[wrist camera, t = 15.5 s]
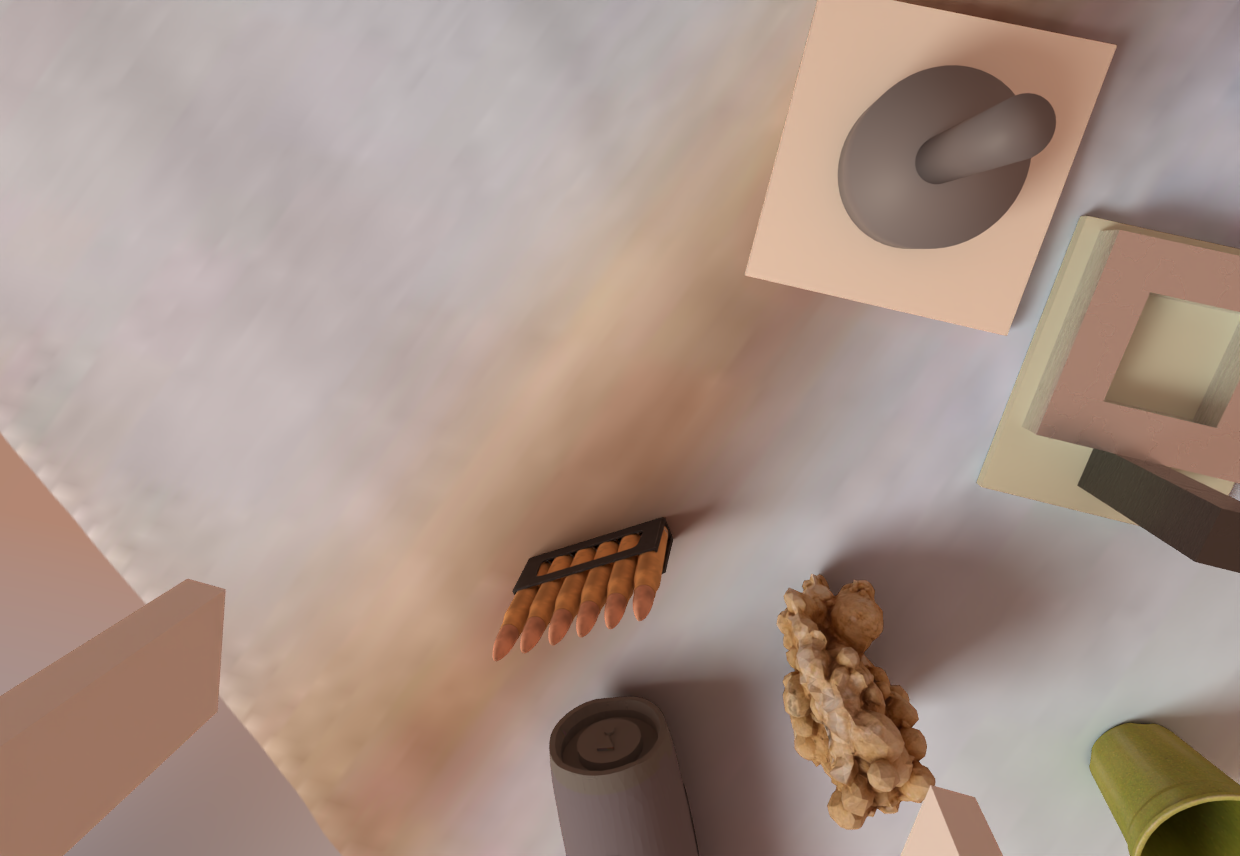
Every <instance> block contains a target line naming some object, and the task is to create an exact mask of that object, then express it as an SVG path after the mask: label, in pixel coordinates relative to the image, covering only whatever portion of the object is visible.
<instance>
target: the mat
mask: <svg viewBox="0 0 1240 856" xmlns="http://www.w3.org/2000/svg"><path fill="white" fill-rule="evenodd" d="M1104 230H1123V231H1128V232H1132V233H1137V234H1142V235H1146V236H1151V237H1155V238H1160V239H1165V240H1169V241H1174V242H1178V243H1183V244H1188V245H1192V246H1197V247H1201V248H1206V249H1210V250H1215V251H1220V252H1224V253H1229V254H1233V255H1238V256H1240V249H1237V248H1233V247H1228V246H1223V245H1219V244H1214V243H1210V242H1205V241H1200V240H1196V239H1191V238H1187V237H1182V236H1178V235H1173V234H1168V233H1164V232H1159V231H1155V230H1150V229H1145V228H1141V227H1136V226H1132V225H1127V224H1123V223H1118V222H1113V221H1109V220H1104V219H1100V218H1095V217H1090V216H1080V218H1079V221H1078V223H1077V226H1076V229H1075V231H1074V234H1073V236H1072V239H1071V241H1070V244H1069V246H1068V249H1067V252H1066V254H1065V257H1064V259H1063V262H1062V264H1061V267H1060V270H1059V272H1058V275H1057V277H1056V280H1055V282H1054V285H1053V287H1052V290H1051V293H1050V295H1049V298H1048V300H1047V303H1046V305H1045V308H1044V311H1043V313H1042V316H1041V318H1040V321H1039V323H1038V326H1037V329H1036V331H1035V334H1034V336H1033V339H1032V341H1031V344H1030V346H1029V349H1028V352H1027V354H1026V357H1025V359H1024V362H1023V364H1022V367H1021V370H1020V372H1019V375H1018V377H1017V380H1016V382H1015V385H1014V387H1013V390H1012V393H1011V395H1010V398H1009V400H1008V403H1007V405H1006V408H1005V411H1004V413H1003V416H1002V418H1001V421H1000V423H999V426H998V428H997V431H996V434H995V436H994V439H993V441H992V444H991V446H990V449H989V452H988V454H987V457H986V459H985V462H984V464H983V467H982V469H981V472H980V475H979V477H978V480H977V482H976V483H977V484H978V485H980V486H981V487H984V488H988V489H992V490H996V491H1000V492H1004V493H1008V494H1012V495H1016V496H1020V497H1024V498H1029V499H1033V500H1037V501H1041V502H1045V503H1049V504H1053V505H1057V506H1061V507H1065V508H1069V509H1073V510H1077V511H1081V512H1085V513H1089V514H1093V515H1097V516H1101V517H1105V518H1110V519H1114V520H1118V521H1122V522H1126V523H1130V524H1134V525H1138V524H1136V523H1134V522H1133V521H1131V520H1130V519H1128V518H1127V517H1125V516H1124V515H1122V514H1121V513H1119V512H1117V511H1116V510H1114V509H1113V508H1111V507H1110V506H1108V505H1107V504H1105V503H1104V502H1102V501H1100V500H1099V499H1097V498H1096V497H1094V496H1093V495H1091V494H1090V493H1088V492H1087V491H1085V490H1083V489H1082V488H1080V487H1079V486H1077V485H1078V482H1079V480H1080V478H1081V476H1082V473H1083V471H1084V469H1085V466H1086V464H1087V462H1088V459H1089V457H1090V455H1091V452H1092V450H1093V448H1089V447H1085V446H1081V445H1077V444H1073V443H1069V442H1064V441H1060V440H1056V439H1052V438H1048V437H1044V436H1039V435H1036V434H1034V433H1032V432H1031V431H1029V430H1027V429H1025V428H1024V427H1022V425H1023V422H1024V420H1025V417H1026V415H1027V412H1028V410H1029V407H1030V405H1031V402H1032V400H1033V397H1034V395H1035V392H1036V390H1037V387H1038V385H1039V382H1040V380H1041V377H1042V375H1043V372H1044V370H1045V367H1046V365H1047V362H1048V360H1049V357H1050V355H1051V352H1052V350H1053V347H1054V345H1055V342H1056V340H1057V337H1058V335H1059V332H1060V330H1061V327H1062V325H1063V322H1064V320H1065V317H1066V315H1067V312H1068V310H1069V307H1070V305H1071V302H1072V300H1073V297H1074V295H1075V292H1076V290H1077V287H1078V285H1079V282H1080V280H1081V277H1082V275H1083V272H1084V270H1085V267H1086V265H1087V262H1088V260H1089V257H1090V255H1091V252H1092V250H1093V247H1094V245H1095V242H1096V240H1097V237H1098V235H1099V232H1100V231H1104ZM1239 321H1240V315H1238V314H1234V313H1229V312H1225V311H1220V310H1216V309H1211V308H1207V307H1203V306H1198V305H1194V304H1189V303H1185V302H1180V301H1176V300H1171V299H1167V298H1162V297H1158V296H1153V295H1149V296H1148V299H1147V301H1146V303H1145V306H1144V308H1143V310H1142V313H1141V315H1140V317H1139V320H1138V322H1137V324H1136V327H1135V329H1134V331H1133V334H1132V336H1131V338H1130V340H1129V343H1128V345H1127V347H1126V350H1125V352H1124V354H1123V357H1122V359H1121V361H1120V364H1119V366H1118V368H1117V371H1116V373H1115V375H1114V378H1113V380H1112V382H1111V385H1110V387H1109V389H1108V392H1107V394H1106V396H1105V399H1107V400H1111V401H1116V402H1120V403H1124V404H1128V405H1133V406H1137V407H1141V408H1145V409H1150V410H1154V411H1158V412H1162V413H1167V414H1171V415H1175V416H1179V417H1184V418H1188V419H1192V420H1193V419H1194V417H1195V415H1196V412H1197V410H1198V408H1199V406H1200V404H1201V402H1202V400H1203V398H1204V395H1205V393H1206V391H1207V389H1208V387H1209V385H1210V383H1211V381H1212V378H1213V376H1214V374H1215V372H1216V370H1217V368H1218V366H1219V364H1220V361H1221V359H1222V357H1223V355H1224V353H1225V351H1226V349H1227V347H1228V344H1229V342H1230V340H1231V338H1232V336H1233V334H1234V332H1235V330H1236V327H1237V325H1238V323H1239ZM1167 467H1169V466H1167ZM1169 468H1171V469H1173V470H1175V471H1177V472H1179V473H1182V474H1184V475H1186V476H1188V477H1190V478H1192V479H1194V480H1196V481H1198V482H1200V483H1202V484H1205V485H1207V486H1209V487H1211V488H1213V489H1215V490H1217V491H1219V492H1221V493H1223V494H1226V495H1229V493H1230V491H1231V489H1232V487H1233V485H1234V483H1235V482H1231V481H1227V480H1223V479H1219V478H1214V477H1210V476H1206V475H1202V474H1198V473H1194V472H1189V471H1185V470H1181V469H1177V468H1173V467H1169ZM1138 526H1139V525H1138Z"/></svg>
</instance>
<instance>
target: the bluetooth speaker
mask: <svg viewBox="0 0 1240 856" xmlns="http://www.w3.org/2000/svg"><path fill="white" fill-rule="evenodd" d="M549 749H550V765H551V774H552V782H553V788H554V794H555V799H556V804H557V810H558V815H559V821H560V826H561V831H562V836H563V841H564V846H565V851H566V856H699V852H698V846H697V841H696V836H695V831H694V825H693V821H692V816H691V811H690V807H689V802H688V797H687V794H686V790H685V787H684V784H683V781H682V778H681V773H680V769H679V765H678V760H677V756H676V752H675V748H674V745H673V742H672V738H671V735H670V732H669V729H668V726H667V723H666V720H665V718H664V715H663V713H662V712H661V710H660V709H659V708H658V707H657V706H656V705H655V704H653V703H652V702H650V701H648V700H646V699H644V698H640V697H614V698H603V699H595V700H592V701H589V702H586V703H584V704H582V705H580V706H578V707H576V708H574V709H573V710H571V711H570V712H569V713H567V714H566V715H565V716H564V717H563V718H562V719H561V720H560V721H559V722H558V723H557V725H556V726H555V728H554V729H553V731H552V734H551V737H550V746H549Z"/></svg>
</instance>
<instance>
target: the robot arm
mask: <svg viewBox="0 0 1240 856" xmlns="http://www.w3.org/2000/svg"><path fill="white" fill-rule="evenodd" d="M225 590H226V589H223V588H219V587H215V586H212V585H208V584H205V583H201V582H197V581H194V580H190V579H186V580H185V581H183V582H181V583H180V584H178V585H177V586H175V587H174V588H172V589H170V590H169V591H167V592H166V593H164V594H162V595H161V596H159V597H158V598H156V599H154V600H153V601H151V602H150V603H148V604H146V605H145V606H143V607H142V608H140V609H138V610H137V611H135V612H134V613H132V614H131V615H129V616H127V617H126V618H124V619H122V620H121V621H119V622H118V623H116V624H114V625H113V626H111V627H110V628H108V629H107V630H105V631H103V632H102V633H100V634H99V635H97V636H95V637H94V638H92V639H91V640H89V641H87V642H86V643H84V644H83V645H81V646H79V647H78V648H76V649H75V650H73V651H71V652H70V653H68V654H67V655H65V656H63V657H62V658H60V659H59V660H57V661H56V662H54V663H52V664H51V665H49V666H47V667H46V668H44V669H43V670H41V671H40V672H38V673H36V674H35V675H33V676H32V677H30V678H28V679H27V680H25V681H24V682H22V683H20V684H19V685H17V686H16V687H14V688H13V689H11V690H9V691H8V692H6V693H5V694H3V695H1V696H0V856H63V855H64V854H65V853H66V852H68V850H70V849H71V848H72V847H73V846H74V845H75V844H76V843H77V842H78V841H79V840H80V839H81V838H82V837H84V836H85V835H86V834H87V833H88V832H89V831H90V830H91V829H92V828H93V827H94V826H95V825H96V824H98V823H99V822H100V821H101V820H102V819H103V818H104V817H105V816H106V815H107V814H108V813H109V812H110V811H111V810H112V809H114V808H115V807H116V806H117V805H118V804H119V803H120V802H121V801H122V800H123V799H124V798H125V797H126V796H127V795H129V794H130V793H131V792H132V791H133V790H134V789H135V788H136V787H137V786H138V785H139V784H140V783H141V782H143V781H144V780H145V779H146V777H148V776H149V775H150V774H151V773H152V772H153V771H154V770H155V769H156V768H157V767H158V766H160V765H161V764H162V763H163V762H164V761H165V760H166V759H167V758H168V757H169V756H170V755H171V754H173V753H174V752H175V751H176V750H177V749H178V748H179V747H180V746H181V745H182V744H183V743H184V742H185V741H186V740H188V739H189V738H190V737H191V736H192V735H193V734H194V733H195V732H196V731H197V730H198V729H199V728H200V727H201V726H202V725H204V724H205V723H206V722H207V721H208V720H209V719H210V718H211V717H212V716H213V715H214V714H215V713H216V712H217V710H218V696H219V681H220V666H221V650H222V635H223V620H224V605H225ZM901 856H1003V855H1002V853H1001V851H1000V849H999V846H998V844H997V842H996V840H995V838H994V836H993V834H992V832H991V830H990V828H989V826H988V824H987V821H986V819H985V817H984V815H983V813H982V811H981V809H980V807H979V805H978V803H977V801H976V798H975V797H972V796H968V795H964V794H961V793H957V792H954V791H950V790H946V789H943V788H939V787H936V786H932V785H930V788H929V790H928V792H927V795H926V797H925V799H924V802H923V804H922V806H921V809H920V811H919V813H918V816H917V818H916V821H915V823H914V825H913V828H912V830H911V832H910V835H909V837H908V839H907V842H906V844H905V846H904V849H903V851H902V853H901Z"/></svg>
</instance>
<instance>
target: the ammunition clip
mask: <svg viewBox="0 0 1240 856" xmlns="http://www.w3.org/2000/svg"><path fill="white" fill-rule="evenodd" d="M672 542H673V538H672V535H671V533H670V530H669V527H668V525H667V522H666V520H665V518H663V517H661V518H658V519H655V520H652V521H649V522H645V523H642V524H639V525H636V526H632V527H629V528H626V529H623V530H619V531H616V532H613V533H610V534H607V535H603V536H600V537H597V538H594V539H590V540H587V541H584V542H581V543H578V544H574V545H571V546H568V547H565V548H561V549H558V550H555V551H552V552H549V553H545V554H542V555H539V556H536V557H532V558H529V560H528V562H527V564H526V566H525V568H524V570H523V571H522V573H521V575H520V577H519V579H518V581H517V583H516V585H515V587H514V589H513V593H514V595H515V594H516V595H515V597H514V599H513V601H512V602H511V604H510V606H509V608H508V610H507V611H506V613H505V615H504V620H503V624H502V626H501V628H500V631H499V633H498V635H497V637H496V640H495V643H494V647H493V660H494V661H498V660H500V659H502V658H503V657H504V656H505V655H507V654H508V652H509V651H510V650H511V649H512V647H513V646H514V644H515V642H516V640H517V639H518V638H519V636H520V634H521V633H522V635H521V642H520V648H521V652H522V653H527V652H529V651H530V650H531V649H532V648H533V647H534V646H535V645H536V644H537V643H538V641H539V640H540V638H541V636H542V634H543V632H544V631H545V629H546V627H547V626H548V624H549V623H550V626H549V634H548V636H549V642H550V644H551V645H555V644H557V643H558V642H560V641H561V640H562V639H563V637H564V636H565V634H566V633H567V631H568V629H569V628H570V625H571V623H572V622H573V619H574V617H575V616H576V615H577V614H578V615H577V621H576V629H577V634H578V636H579V637H584V636H585V635H587V634H588V633H589V632H590V631H591V629H592V628H593V626H594V624H595V622H596V621H597V618H598V615H599V614H600V611H601V609H602V607H603V606H604V605H605V603H606V605H605V612H604V617H605V623H606V626H607V628H608V629H613V628H614V627H615V626H617V624H618V623H619V622H620V620H621V619H622V617H623V615H624V612H625V609H626V606H627V604H628V601H629V599H630V598H631V596H632V594H633V591H634V597H633V610H634V614H635V617H636V619H637V620H638V621H642V620H643V619H645V618H646V616H647V615H648V613H649V612H650V610H651V608H652V605H653V601H654V598H655V594H656V591H657V590H658V588H659V586H660V581H661V575H662V574H663V573H665V572H666V568H667V564H668V559H669V555H670V551H671V546H672ZM634 587H635V588H634ZM517 591H518V592H517ZM516 592H517V593H516Z"/></svg>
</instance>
